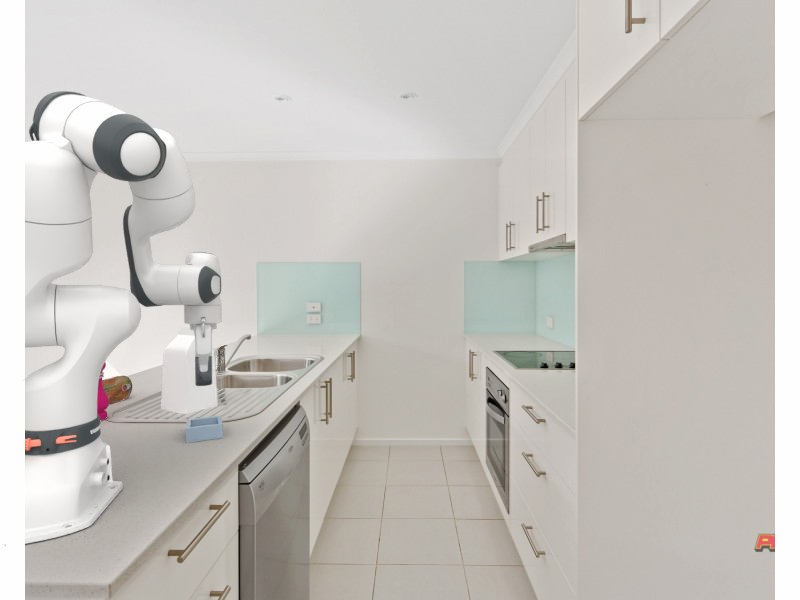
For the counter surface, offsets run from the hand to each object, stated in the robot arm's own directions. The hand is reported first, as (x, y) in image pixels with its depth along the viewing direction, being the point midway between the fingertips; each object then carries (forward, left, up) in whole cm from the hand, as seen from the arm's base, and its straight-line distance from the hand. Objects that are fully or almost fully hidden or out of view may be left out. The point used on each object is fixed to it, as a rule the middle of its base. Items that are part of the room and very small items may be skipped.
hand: (203, 369), depth 115 cm
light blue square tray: (0, 0, -17) cm, 17 cm away
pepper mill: (+28, +29, -18) cm, 44 cm away
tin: (+48, +28, -18) cm, 58 cm away
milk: (+31, +4, -18) cm, 36 cm away
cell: (0, 0, -4) cm, 4 cm away
